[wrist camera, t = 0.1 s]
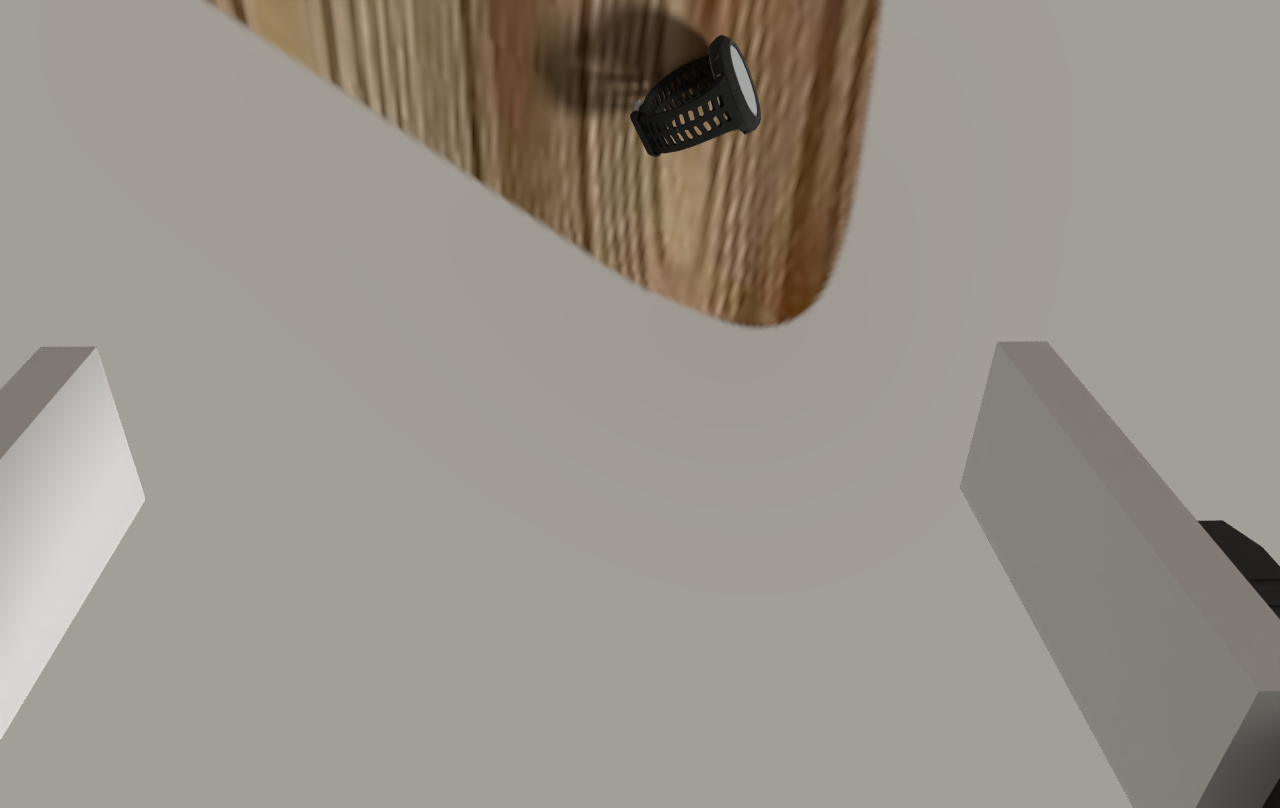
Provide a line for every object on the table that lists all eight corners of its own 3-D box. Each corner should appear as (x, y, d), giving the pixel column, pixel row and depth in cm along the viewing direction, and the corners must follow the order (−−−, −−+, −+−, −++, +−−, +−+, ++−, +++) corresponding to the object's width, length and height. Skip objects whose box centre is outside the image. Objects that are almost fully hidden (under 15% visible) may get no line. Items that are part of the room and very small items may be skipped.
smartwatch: (751, 121, 41) (771, 160, 36) (629, 131, 40) (635, 171, 36) (751, 18, 38) (772, 47, 34) (621, 28, 38) (627, 58, 34)
